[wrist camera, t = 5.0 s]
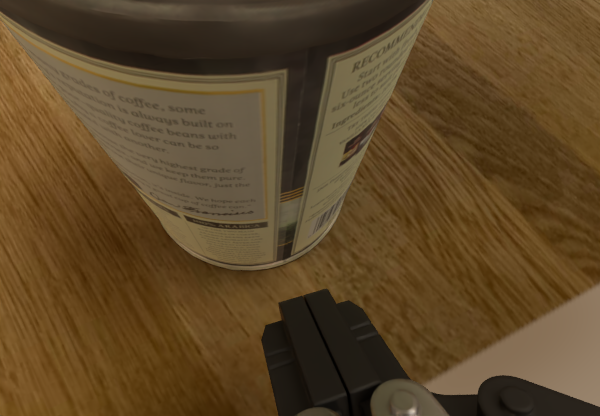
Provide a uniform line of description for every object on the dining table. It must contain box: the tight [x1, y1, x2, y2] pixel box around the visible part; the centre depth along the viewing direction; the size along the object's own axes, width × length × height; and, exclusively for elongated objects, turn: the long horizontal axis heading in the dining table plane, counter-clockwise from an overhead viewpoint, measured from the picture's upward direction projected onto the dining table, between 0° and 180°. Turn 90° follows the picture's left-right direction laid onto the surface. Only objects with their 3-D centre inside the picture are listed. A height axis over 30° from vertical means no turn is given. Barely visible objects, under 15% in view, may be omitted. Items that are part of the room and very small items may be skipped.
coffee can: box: [0, 0, 433, 270], centre depth 13 cm, size 10×10×14 cm
